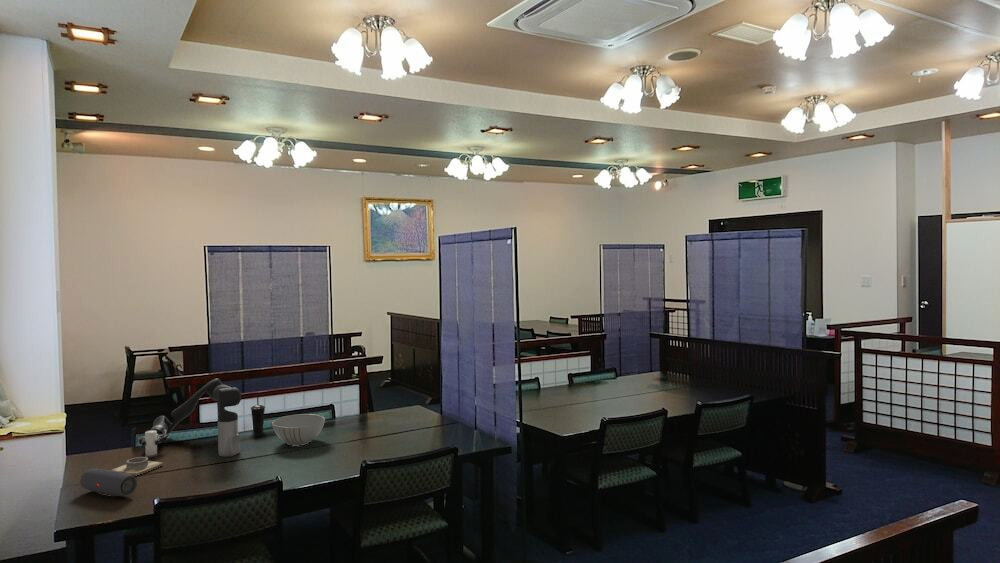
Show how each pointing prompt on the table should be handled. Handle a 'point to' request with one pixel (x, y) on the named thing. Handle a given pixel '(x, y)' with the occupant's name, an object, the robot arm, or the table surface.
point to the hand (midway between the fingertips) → (149, 443)
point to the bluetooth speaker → (108, 482)
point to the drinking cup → (258, 417)
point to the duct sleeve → (150, 444)
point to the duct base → (138, 471)
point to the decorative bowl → (298, 428)
